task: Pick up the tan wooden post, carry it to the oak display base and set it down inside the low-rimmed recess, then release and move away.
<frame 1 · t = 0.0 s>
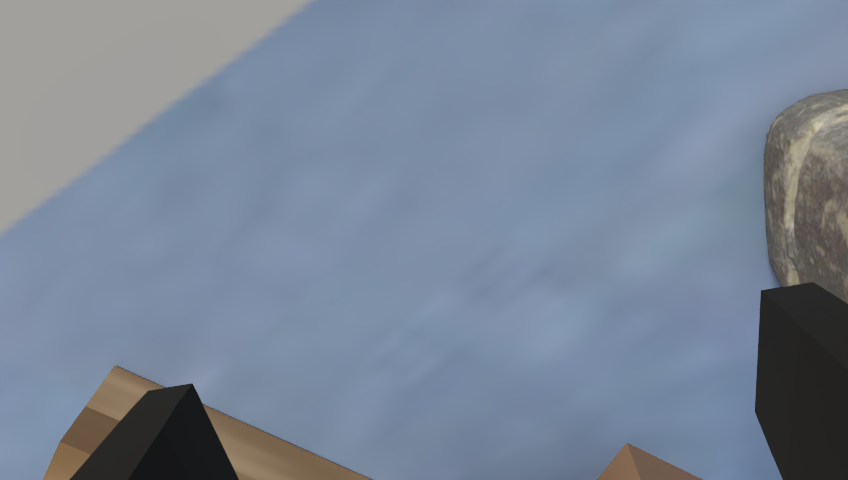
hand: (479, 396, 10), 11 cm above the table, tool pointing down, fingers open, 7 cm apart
stone: (808, 186, 20), on the table
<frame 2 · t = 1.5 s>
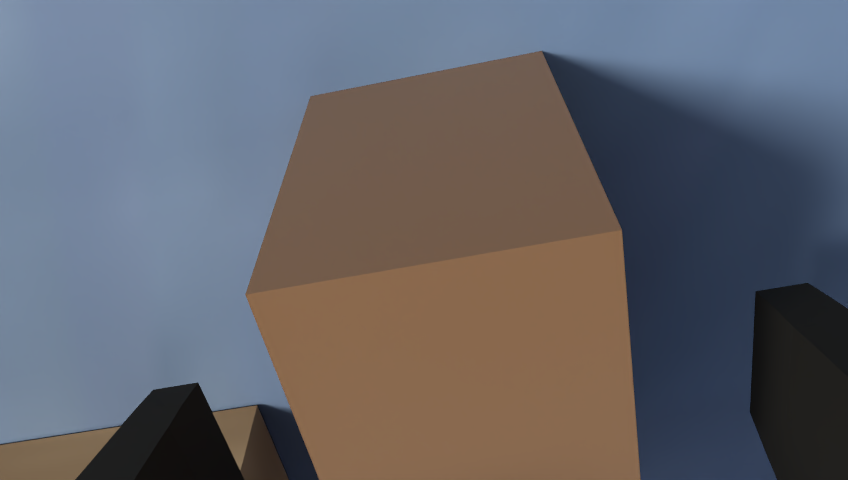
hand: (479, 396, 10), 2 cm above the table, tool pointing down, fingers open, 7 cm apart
tan wooden post: (474, 314, 12), on the table
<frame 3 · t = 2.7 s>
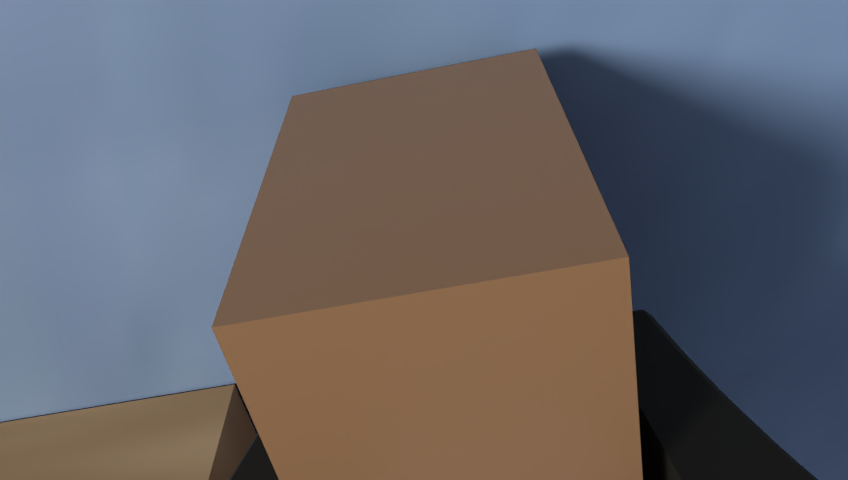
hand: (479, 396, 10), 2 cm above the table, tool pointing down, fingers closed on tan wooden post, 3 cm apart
tan wooden post: (466, 327, 11), on the table, touching gripper
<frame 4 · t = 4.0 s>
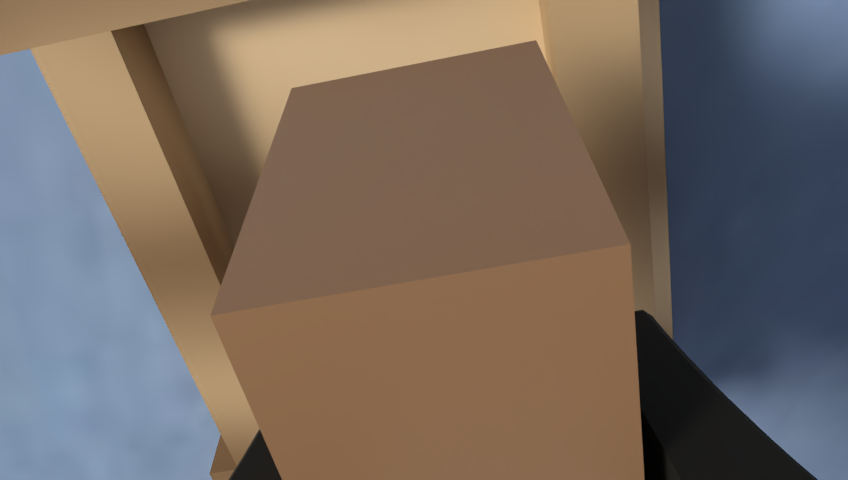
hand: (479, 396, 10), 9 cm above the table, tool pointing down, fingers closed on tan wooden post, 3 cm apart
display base: (395, 174, 19), on the table
tan wooden post: (466, 321, 11), point 8 cm above the table, touching gripper
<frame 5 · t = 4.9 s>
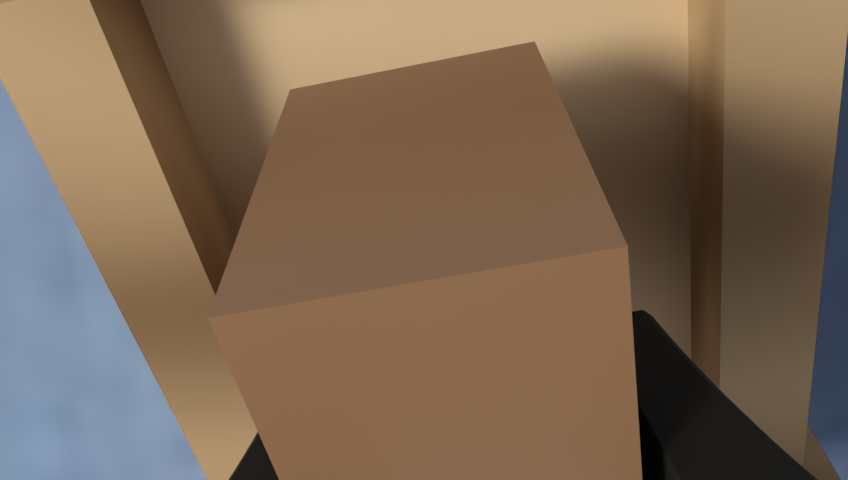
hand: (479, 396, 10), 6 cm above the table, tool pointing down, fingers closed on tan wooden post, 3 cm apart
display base: (458, 190, 14), on the table
tan wooden post: (465, 322, 11), point 4 cm above the table, touching gripper
when the fingers open (4 cm above the table, at t = 5.5 s): tan wooden post stays where it is, resting on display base.
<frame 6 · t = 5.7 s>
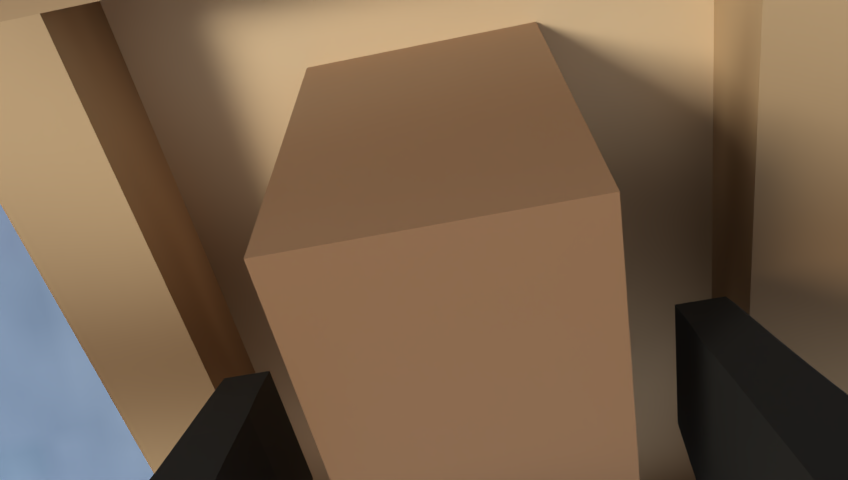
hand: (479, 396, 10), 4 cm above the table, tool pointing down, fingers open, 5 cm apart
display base: (460, 221, 13), on the table
tan wooden post: (470, 291, 12), point 2 cm above the table, touching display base
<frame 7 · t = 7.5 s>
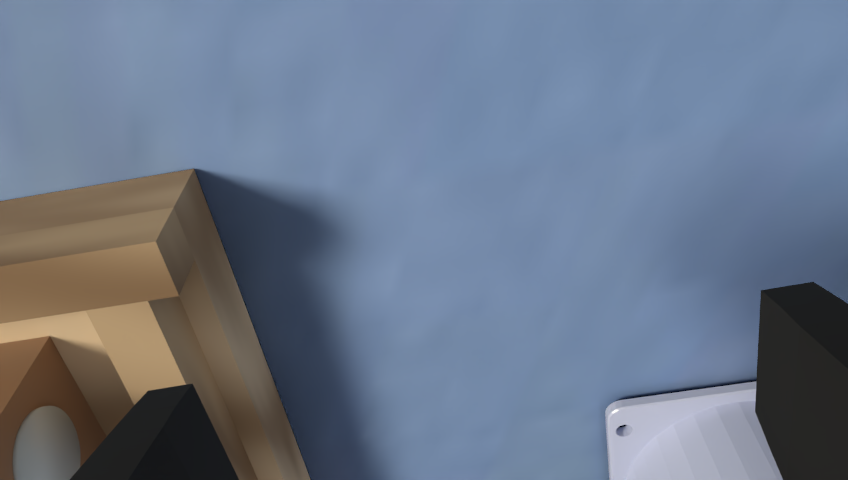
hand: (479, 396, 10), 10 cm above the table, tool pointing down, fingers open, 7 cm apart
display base: (83, 398, 24), on the table
tan wooden post: (60, 449, 22), point 2 cm above the table, touching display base
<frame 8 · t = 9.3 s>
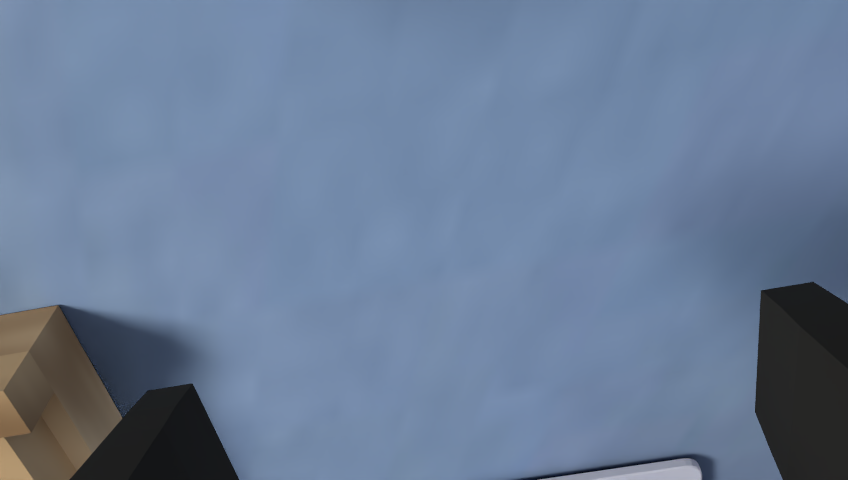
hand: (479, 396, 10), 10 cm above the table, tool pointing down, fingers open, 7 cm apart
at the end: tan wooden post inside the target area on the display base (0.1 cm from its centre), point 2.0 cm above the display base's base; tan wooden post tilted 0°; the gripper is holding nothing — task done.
